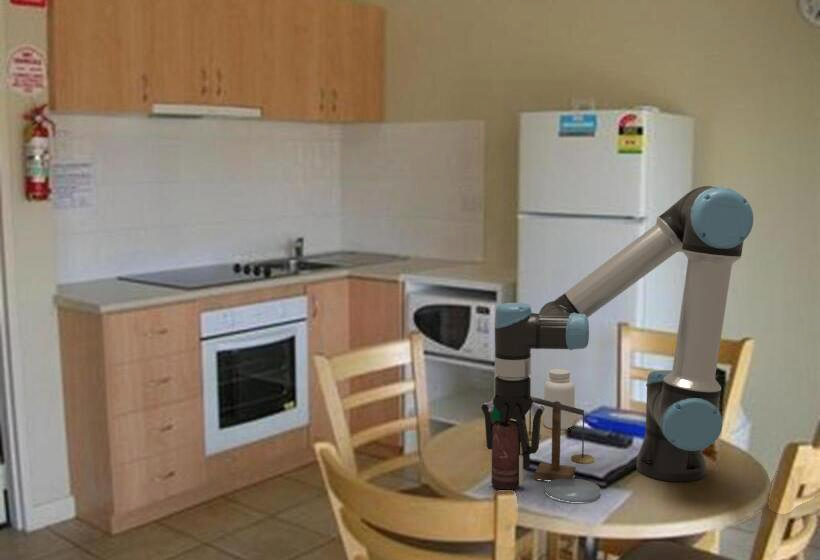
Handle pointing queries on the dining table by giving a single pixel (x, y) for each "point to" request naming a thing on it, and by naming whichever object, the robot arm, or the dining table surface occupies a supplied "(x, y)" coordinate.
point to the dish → (573, 490)
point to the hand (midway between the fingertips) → (512, 481)
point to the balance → (558, 444)
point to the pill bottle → (559, 397)
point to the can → (505, 455)
